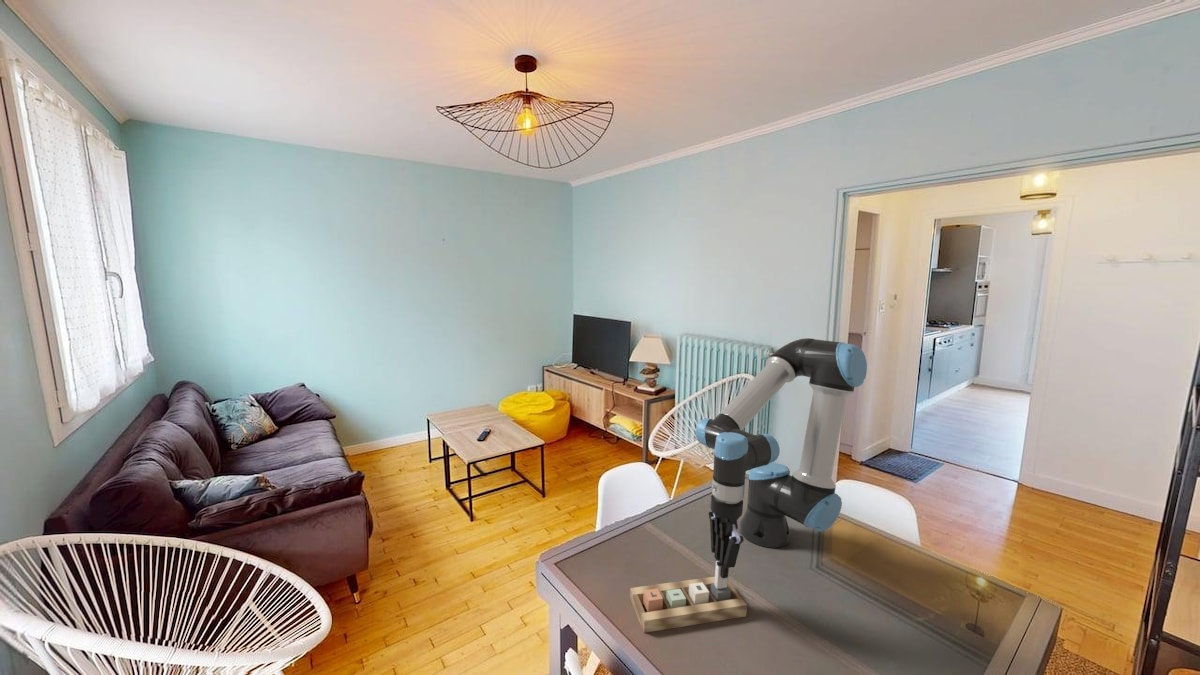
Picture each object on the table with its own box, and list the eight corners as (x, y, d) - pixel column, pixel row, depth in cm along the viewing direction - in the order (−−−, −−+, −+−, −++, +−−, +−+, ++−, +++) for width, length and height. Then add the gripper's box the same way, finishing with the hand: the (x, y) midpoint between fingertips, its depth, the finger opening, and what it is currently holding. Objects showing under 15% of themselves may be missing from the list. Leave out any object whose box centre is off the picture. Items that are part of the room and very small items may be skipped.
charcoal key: (723, 592, 113) (723, 581, 113) (730, 602, 110) (731, 590, 109) (710, 594, 112) (711, 582, 112) (717, 604, 109) (717, 592, 109)
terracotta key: (656, 600, 109) (657, 588, 109) (662, 610, 106) (662, 598, 105) (643, 602, 108) (643, 590, 108) (648, 613, 105) (648, 600, 104)
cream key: (701, 593, 112) (702, 581, 111) (708, 603, 108) (709, 591, 108) (688, 595, 111) (689, 583, 111) (694, 606, 107) (695, 593, 107)
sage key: (679, 600, 110) (680, 588, 110) (685, 610, 107) (686, 598, 107) (665, 602, 110) (666, 590, 109) (671, 612, 106) (672, 600, 106)
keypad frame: (723, 585, 117) (724, 575, 117) (746, 616, 107) (746, 604, 106) (629, 599, 111) (630, 588, 111) (644, 632, 101) (644, 620, 100)
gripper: (701, 485, 113) (695, 571, 116) (726, 511, 100) (719, 606, 103) (727, 483, 115) (721, 568, 118) (756, 509, 102) (748, 602, 105)
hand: (720, 586), depth 111 cm, fingers closed
